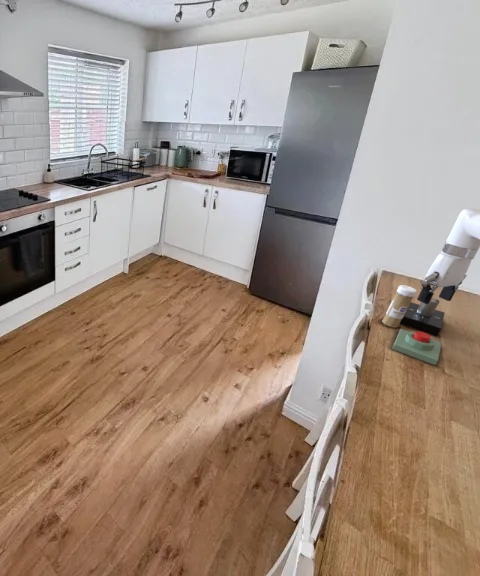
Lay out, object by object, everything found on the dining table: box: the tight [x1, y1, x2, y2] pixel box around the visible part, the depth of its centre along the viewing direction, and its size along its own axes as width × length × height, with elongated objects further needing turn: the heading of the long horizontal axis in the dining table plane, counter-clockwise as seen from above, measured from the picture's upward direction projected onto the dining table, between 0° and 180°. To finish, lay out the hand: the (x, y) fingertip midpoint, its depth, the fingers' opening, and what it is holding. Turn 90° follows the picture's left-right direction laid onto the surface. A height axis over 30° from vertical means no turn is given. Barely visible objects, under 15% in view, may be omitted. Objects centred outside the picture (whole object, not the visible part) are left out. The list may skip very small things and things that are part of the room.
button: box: [413, 330, 432, 343], centre depth 107 cm, size 4×4×2 cm
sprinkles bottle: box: [381, 284, 418, 328], centre depth 117 cm, size 5×5×14 cm
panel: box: [399, 301, 446, 337], centre depth 122 cm, size 14×10×3 cm
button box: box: [392, 328, 442, 366], centre depth 108 cm, size 12×10×4 cm
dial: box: [416, 297, 440, 317], centre depth 120 cm, size 4×4×6 cm
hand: (433, 300), depth 118 cm, fingers open, 9 cm apart
